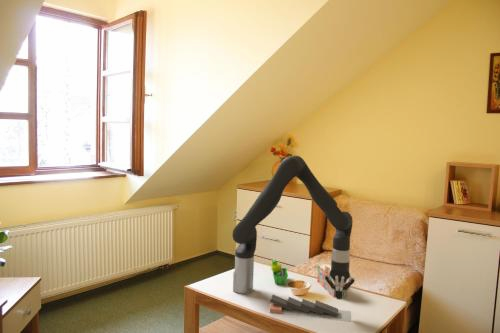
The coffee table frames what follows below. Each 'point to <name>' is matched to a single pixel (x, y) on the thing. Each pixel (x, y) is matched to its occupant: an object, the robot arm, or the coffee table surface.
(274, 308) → the domino
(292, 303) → the domino
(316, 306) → the domino
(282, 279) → the fruit basket
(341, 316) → the mat
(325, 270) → the multicoloured printed box
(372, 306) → the coffee table surface
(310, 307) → the domino
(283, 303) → the domino
